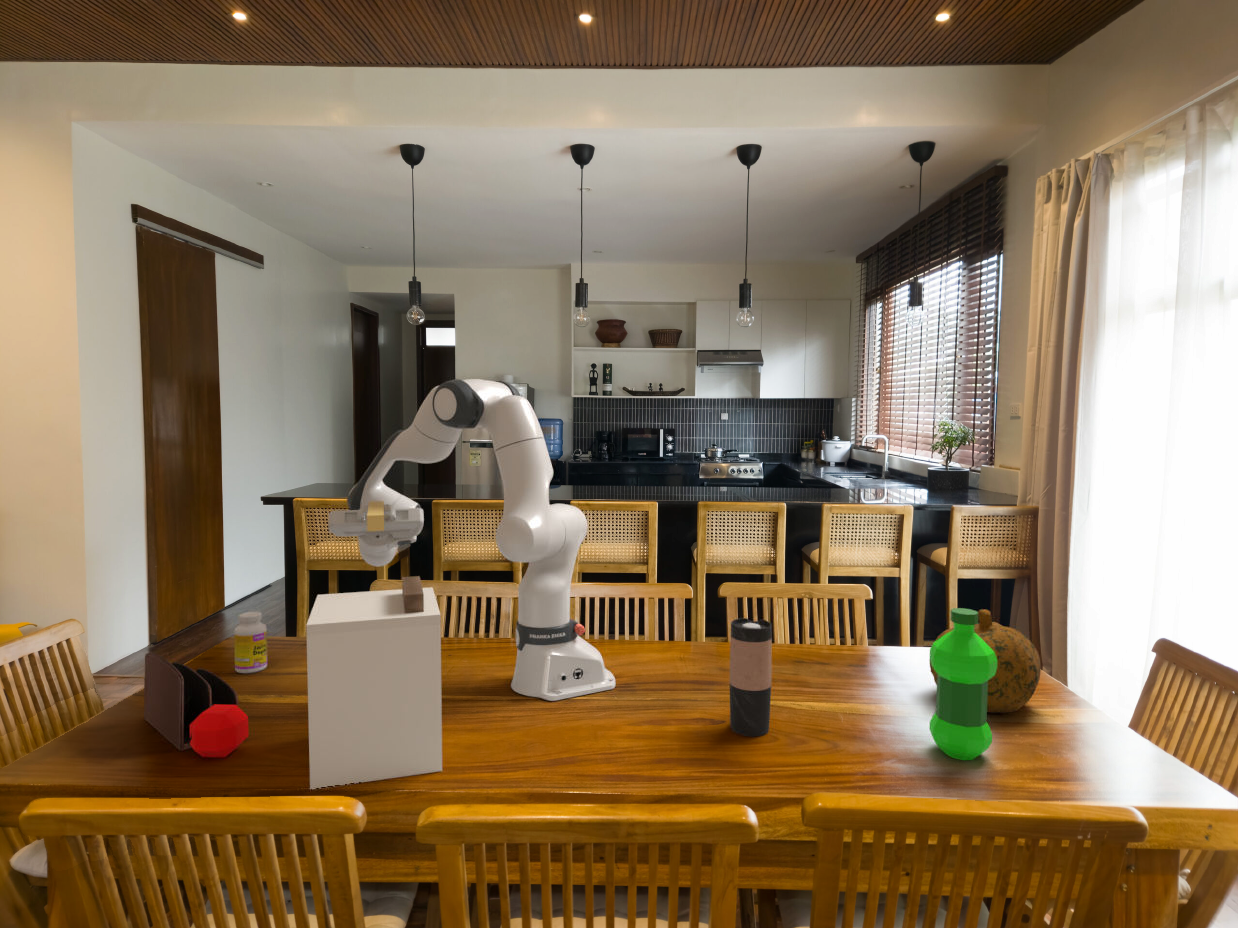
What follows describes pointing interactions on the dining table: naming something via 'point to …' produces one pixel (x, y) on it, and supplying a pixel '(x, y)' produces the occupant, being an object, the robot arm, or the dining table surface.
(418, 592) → the walnut bar
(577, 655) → the robot arm
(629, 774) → the dining table surface
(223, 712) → the ball
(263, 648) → the supplement bottle
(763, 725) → the travel mug
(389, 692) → the off-white stand
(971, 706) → the plastic bottle
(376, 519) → the ochre bar
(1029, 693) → the decorative pumpkin
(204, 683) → the letter holder
